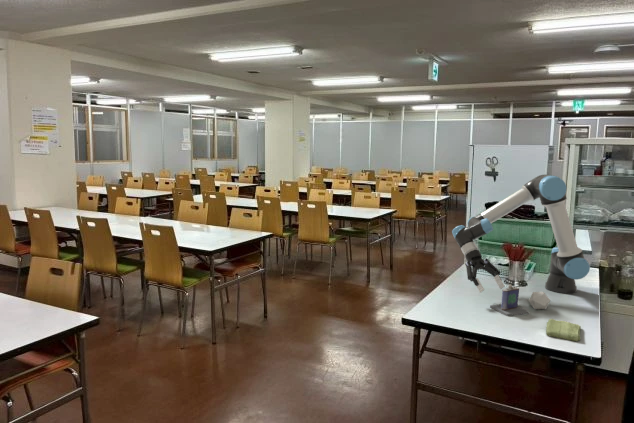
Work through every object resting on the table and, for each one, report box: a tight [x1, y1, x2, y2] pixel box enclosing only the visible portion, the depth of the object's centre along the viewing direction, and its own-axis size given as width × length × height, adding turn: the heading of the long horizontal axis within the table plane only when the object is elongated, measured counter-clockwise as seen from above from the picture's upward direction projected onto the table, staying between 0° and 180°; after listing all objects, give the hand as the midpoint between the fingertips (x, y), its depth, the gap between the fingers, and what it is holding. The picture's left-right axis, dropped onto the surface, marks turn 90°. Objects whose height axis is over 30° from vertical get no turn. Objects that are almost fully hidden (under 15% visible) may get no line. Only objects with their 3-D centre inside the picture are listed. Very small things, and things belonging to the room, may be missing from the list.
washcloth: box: [545, 318, 582, 342], centre depth 194 cm, size 13×18×3 cm
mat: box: [489, 303, 530, 317], centre depth 219 cm, size 12×12×1 cm
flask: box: [500, 283, 520, 310], centre depth 218 cm, size 10×3×12 cm, turn 117°
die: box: [528, 291, 551, 310], centre depth 222 cm, size 8×9×10 cm
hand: (492, 289), depth 227 cm, fingers open, 13 cm apart
